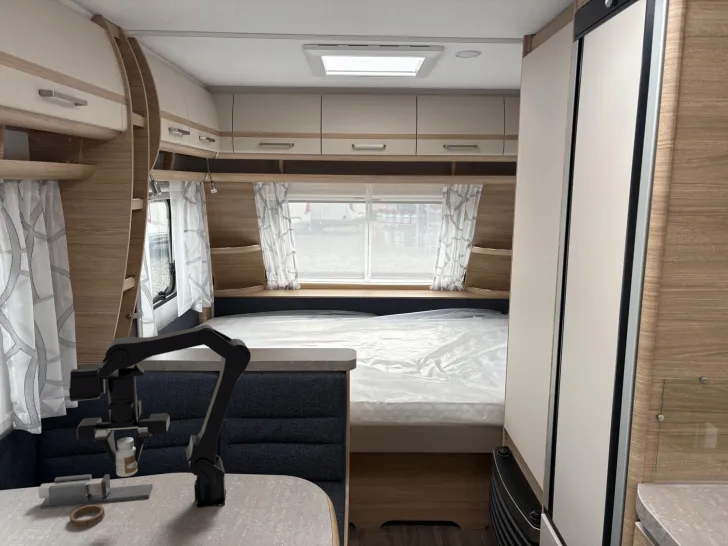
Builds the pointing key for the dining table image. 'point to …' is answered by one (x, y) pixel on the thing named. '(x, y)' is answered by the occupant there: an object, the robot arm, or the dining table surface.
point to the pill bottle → (125, 457)
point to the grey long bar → (92, 484)
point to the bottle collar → (87, 522)
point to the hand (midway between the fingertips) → (126, 462)
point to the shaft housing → (78, 494)
